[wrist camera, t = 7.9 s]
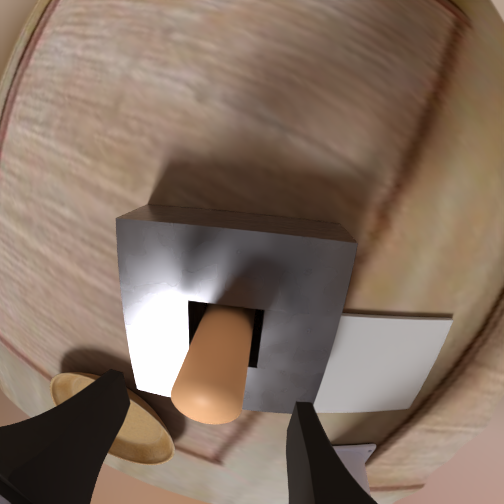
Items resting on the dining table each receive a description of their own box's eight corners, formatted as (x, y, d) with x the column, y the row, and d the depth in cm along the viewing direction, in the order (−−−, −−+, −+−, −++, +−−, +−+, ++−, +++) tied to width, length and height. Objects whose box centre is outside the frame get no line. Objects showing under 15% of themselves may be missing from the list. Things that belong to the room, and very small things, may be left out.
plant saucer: (81, 427, 28) (73, 440, 25) (45, 342, 23) (31, 355, 20) (186, 459, 27) (181, 476, 25) (174, 379, 22) (165, 400, 20)
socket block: (306, 376, 21) (310, 414, 17) (155, 356, 21) (137, 389, 17) (340, 223, 17) (357, 243, 13) (146, 204, 17) (115, 218, 14)
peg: (255, 322, 19) (241, 427, 11) (212, 319, 20) (175, 418, 11) (257, 282, 19) (242, 382, 10) (210, 279, 19) (165, 372, 10)
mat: (407, 405, 22) (408, 408, 21) (308, 408, 22) (308, 412, 22) (451, 317, 18) (453, 320, 18) (337, 312, 19) (338, 315, 18)
